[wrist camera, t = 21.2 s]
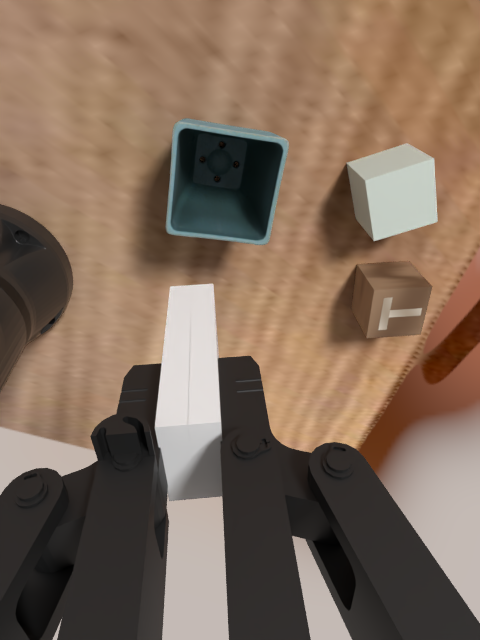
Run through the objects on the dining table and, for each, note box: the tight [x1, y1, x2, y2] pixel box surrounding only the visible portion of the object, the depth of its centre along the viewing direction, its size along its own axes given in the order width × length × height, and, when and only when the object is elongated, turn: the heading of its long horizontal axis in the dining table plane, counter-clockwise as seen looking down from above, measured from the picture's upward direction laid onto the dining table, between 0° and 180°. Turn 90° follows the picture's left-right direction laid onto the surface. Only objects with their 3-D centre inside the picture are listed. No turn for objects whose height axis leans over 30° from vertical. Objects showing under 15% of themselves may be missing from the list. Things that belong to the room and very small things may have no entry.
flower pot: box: [166, 119, 289, 245], centre depth 39 cm, size 9×9×9 cm
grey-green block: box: [347, 143, 438, 241], centre depth 43 cm, size 6×6×6 cm
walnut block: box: [351, 261, 432, 338], centre depth 49 cm, size 6×6×6 cm
